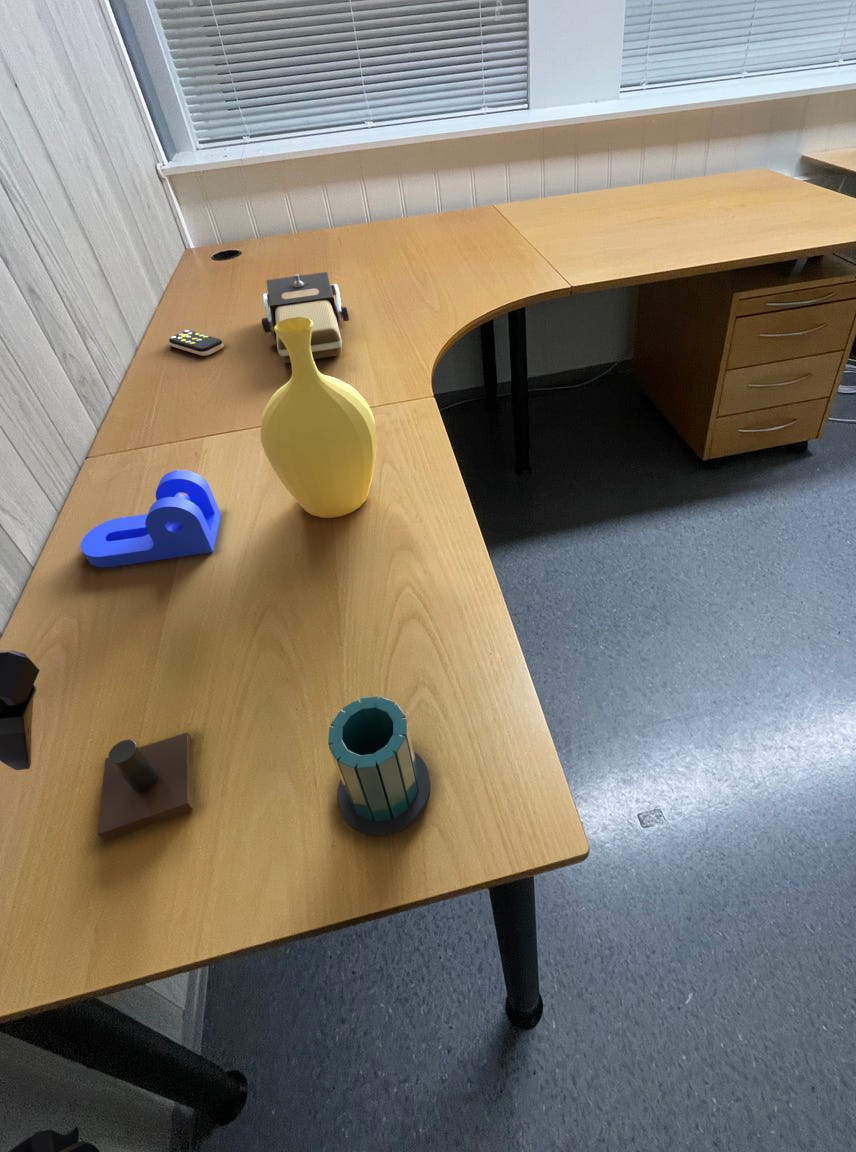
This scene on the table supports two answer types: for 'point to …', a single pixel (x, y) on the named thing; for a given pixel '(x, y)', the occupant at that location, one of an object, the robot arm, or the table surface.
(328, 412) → the vase
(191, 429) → the table surface
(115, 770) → the stand
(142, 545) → the bracket
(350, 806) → the pad
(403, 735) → the slatted teal pen holder
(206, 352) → the remote control
